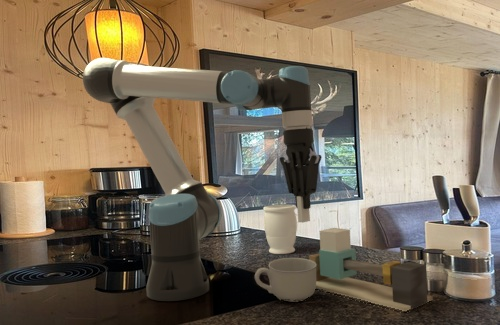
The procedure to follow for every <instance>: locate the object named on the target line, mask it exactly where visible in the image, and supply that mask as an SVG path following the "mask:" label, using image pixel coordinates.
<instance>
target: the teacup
mask: <svg viewBox="0 0 500 325" xmlns="http://www.w3.org/2000/svg"><path fill="white" fill-rule="evenodd" d="M316 267H317V264H316V263H315V262H314V261H312V260H309V258H308V259H307V258H303V257H282V258H277V259H274V260H272V261H270V262H269V263H268V266H267V267H259V268H258V269H257V270H256V271H255V272H254V273H255V274H254V281H255V282H256V284H257V285H258V286H260V287H261V288H262V289H264V290H267V291H268V293H269V294H273V296H276V298H277V299H278V300H280V301H281V299H290V300H295V299H305V298H308V297H309V298H310V297H311V296H313V294H314V293H315V291H316V290H315V289H316ZM262 273H265V274H266V275H267V277H268V279H269V285H268V284H266V283H264V282H263V281H261V279H260V276H261V274H262ZM309 298H308V299H309Z"/></svg>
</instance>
